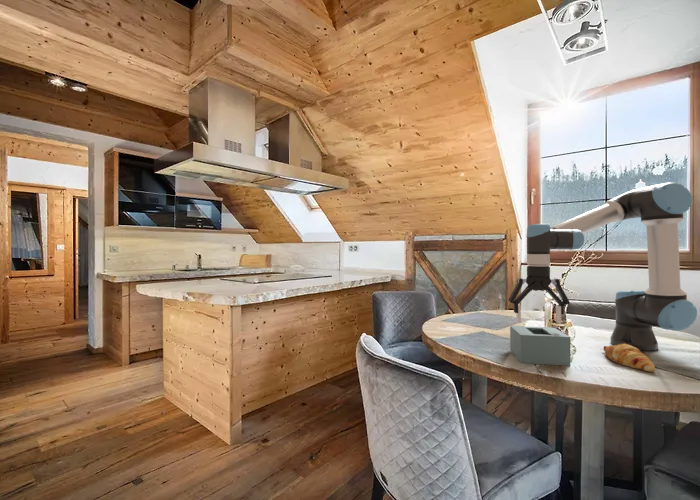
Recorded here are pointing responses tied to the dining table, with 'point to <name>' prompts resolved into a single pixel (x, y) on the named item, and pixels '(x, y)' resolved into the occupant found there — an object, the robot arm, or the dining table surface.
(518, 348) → the coin box
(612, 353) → the croissant
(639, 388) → the dining table surface
